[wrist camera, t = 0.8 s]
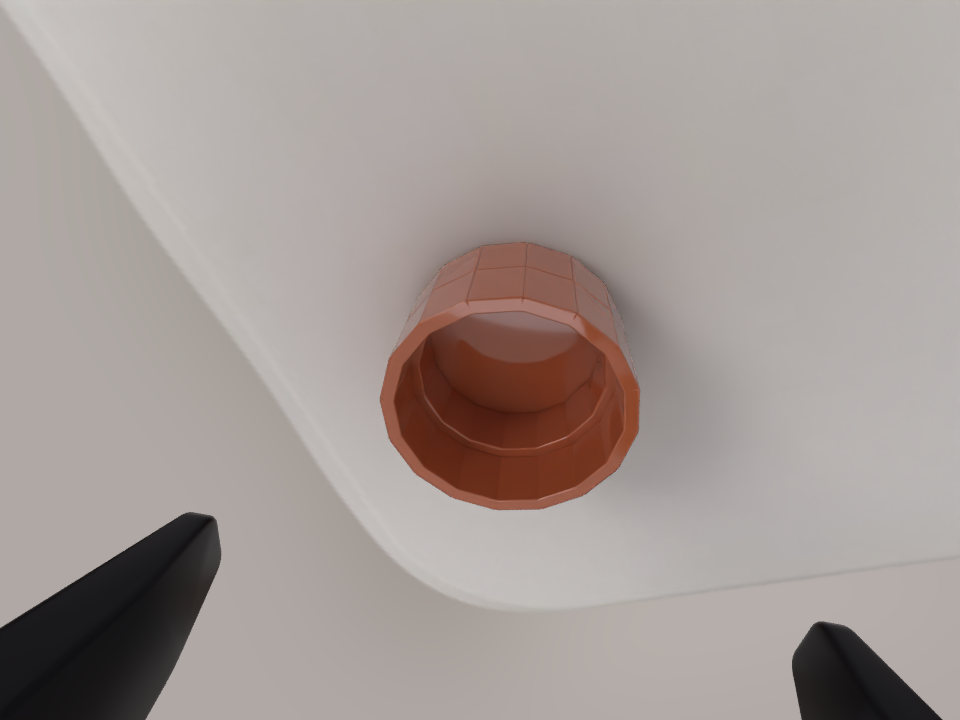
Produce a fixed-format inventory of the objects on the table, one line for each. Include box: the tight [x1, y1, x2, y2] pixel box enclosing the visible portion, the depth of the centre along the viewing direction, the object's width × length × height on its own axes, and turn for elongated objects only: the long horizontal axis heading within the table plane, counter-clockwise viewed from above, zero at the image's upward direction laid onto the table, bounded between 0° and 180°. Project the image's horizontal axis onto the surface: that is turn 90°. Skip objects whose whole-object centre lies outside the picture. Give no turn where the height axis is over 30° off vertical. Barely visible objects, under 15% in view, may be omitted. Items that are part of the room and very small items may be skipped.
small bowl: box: [380, 242, 640, 510], centre depth 17 cm, size 7×7×4 cm
